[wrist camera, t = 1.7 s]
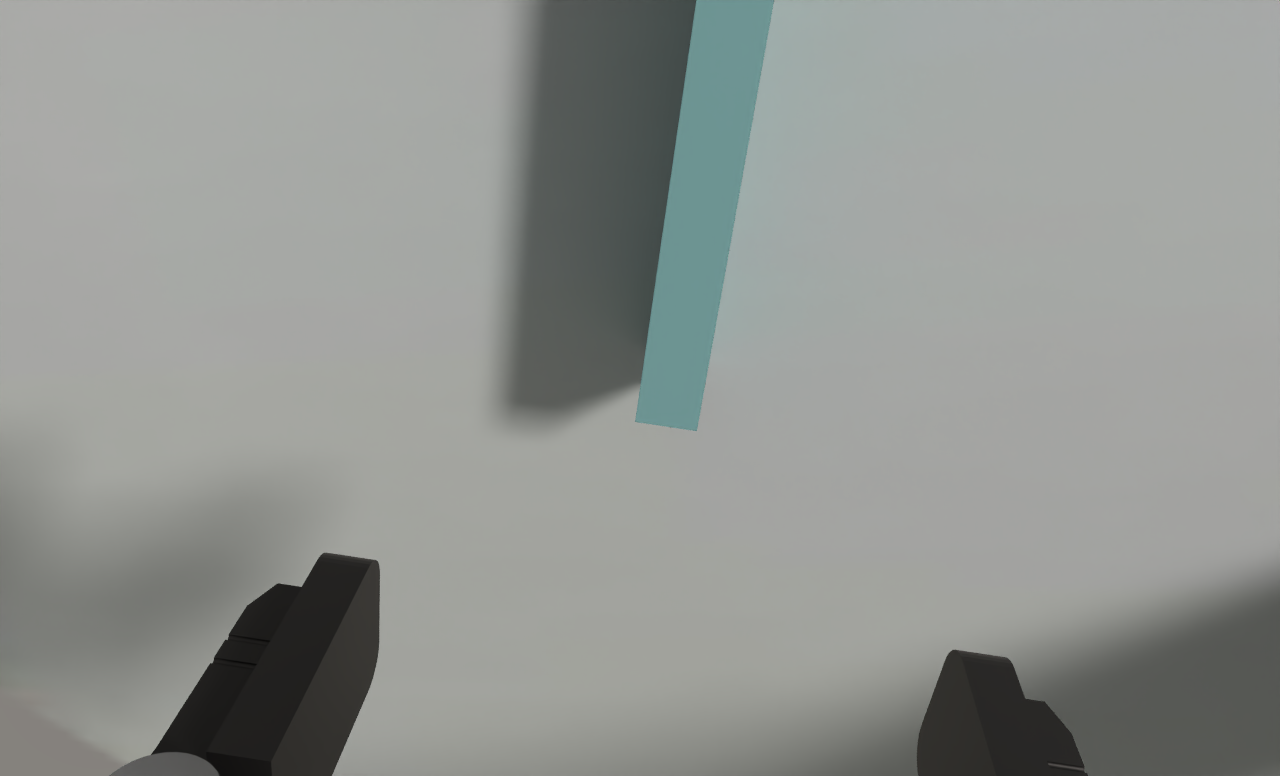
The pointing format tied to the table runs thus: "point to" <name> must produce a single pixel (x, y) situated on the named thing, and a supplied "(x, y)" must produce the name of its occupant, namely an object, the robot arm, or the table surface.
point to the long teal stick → (701, 205)
